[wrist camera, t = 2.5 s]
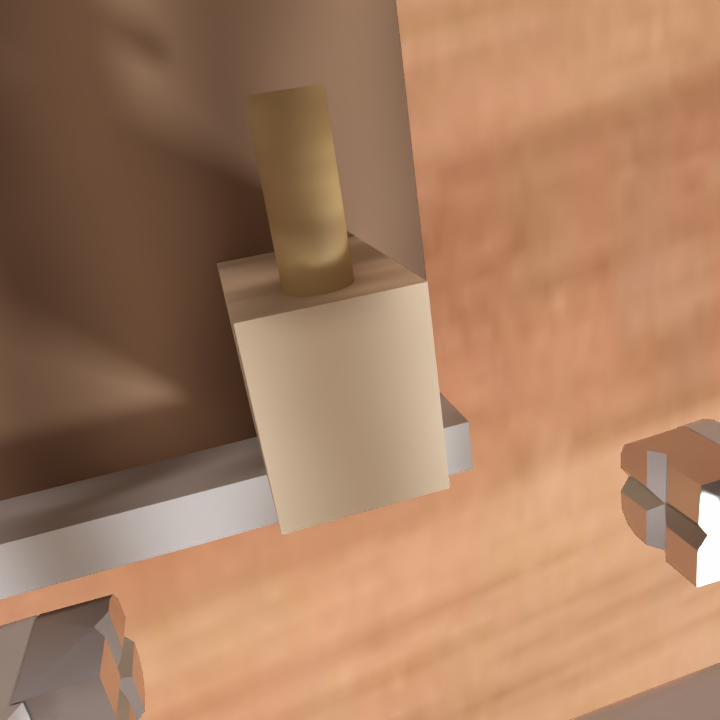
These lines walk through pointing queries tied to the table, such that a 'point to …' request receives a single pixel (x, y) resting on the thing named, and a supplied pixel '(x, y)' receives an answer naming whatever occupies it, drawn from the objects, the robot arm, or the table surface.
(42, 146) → the walnut board
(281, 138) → the marking gauge
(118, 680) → the robot arm
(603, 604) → the table surface
